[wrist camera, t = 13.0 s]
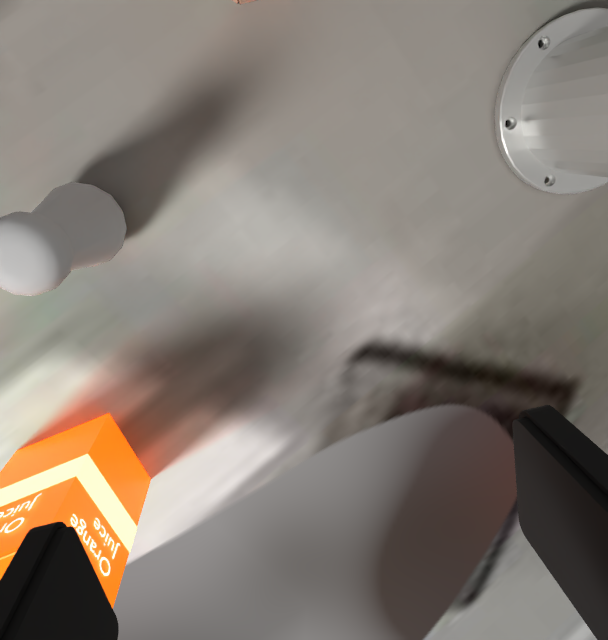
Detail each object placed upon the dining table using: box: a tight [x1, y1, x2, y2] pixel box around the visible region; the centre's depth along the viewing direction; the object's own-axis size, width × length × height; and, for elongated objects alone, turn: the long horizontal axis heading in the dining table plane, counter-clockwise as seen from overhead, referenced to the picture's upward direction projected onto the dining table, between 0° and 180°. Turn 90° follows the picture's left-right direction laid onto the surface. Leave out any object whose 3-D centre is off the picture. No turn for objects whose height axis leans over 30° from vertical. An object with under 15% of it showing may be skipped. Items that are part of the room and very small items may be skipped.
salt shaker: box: [0, 182, 127, 296], centre depth 31 cm, size 6×6×13 cm
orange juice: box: [0, 413, 151, 609], centre depth 34 cm, size 8×9×20 cm
